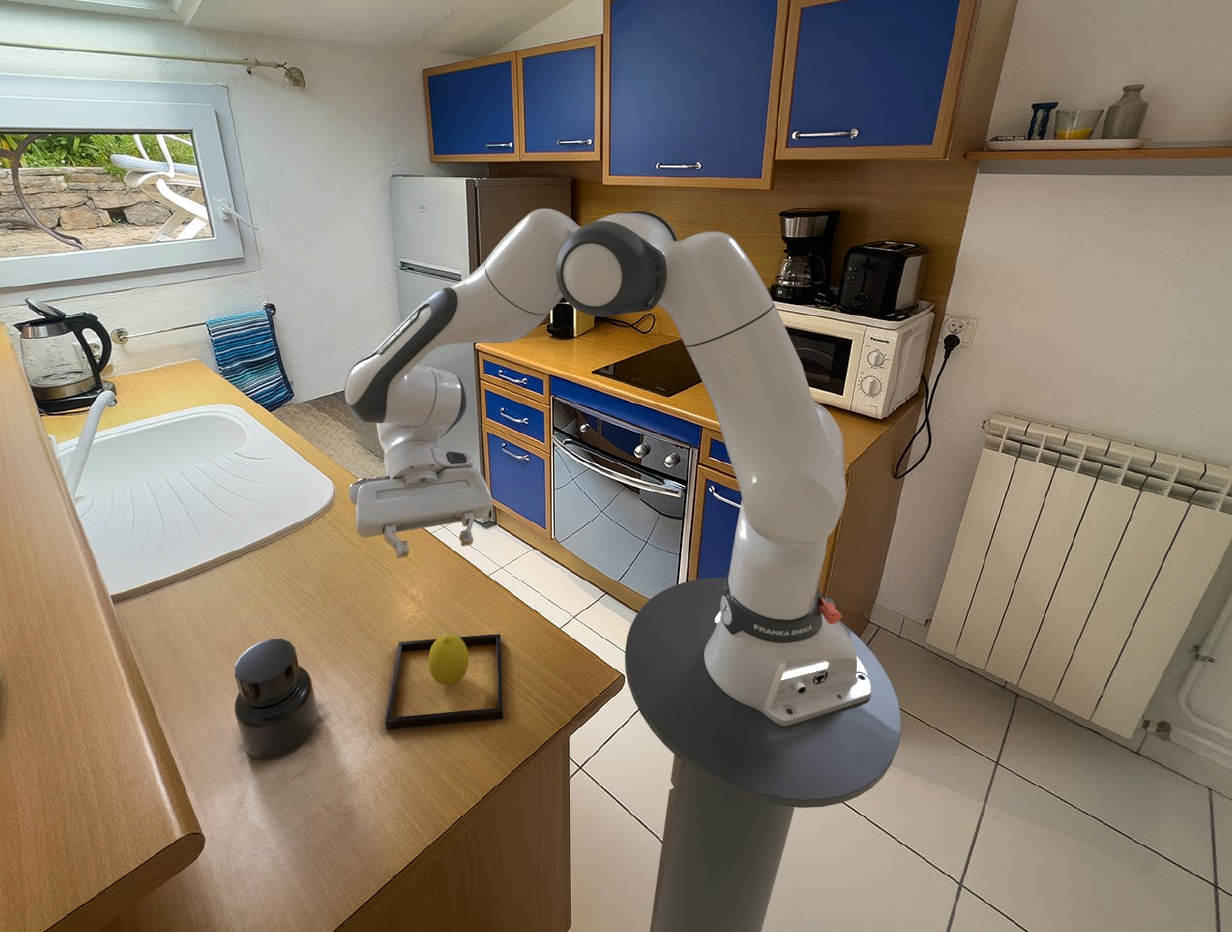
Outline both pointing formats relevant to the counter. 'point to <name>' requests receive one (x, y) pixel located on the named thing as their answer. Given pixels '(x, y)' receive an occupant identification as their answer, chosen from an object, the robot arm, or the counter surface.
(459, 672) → the lemon
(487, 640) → the black square frame
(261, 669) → the ink bottle
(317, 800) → the counter surface
